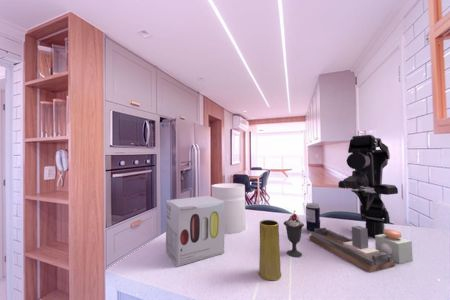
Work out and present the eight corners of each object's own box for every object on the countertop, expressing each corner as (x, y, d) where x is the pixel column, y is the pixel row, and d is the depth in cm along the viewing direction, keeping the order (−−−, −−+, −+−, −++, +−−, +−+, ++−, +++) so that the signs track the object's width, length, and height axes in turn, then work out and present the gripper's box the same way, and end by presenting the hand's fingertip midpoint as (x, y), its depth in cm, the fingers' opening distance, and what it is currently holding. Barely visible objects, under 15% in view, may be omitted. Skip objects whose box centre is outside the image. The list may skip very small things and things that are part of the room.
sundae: (295, 260, 63) (293, 212, 63) (280, 251, 69) (279, 208, 69) (309, 255, 66) (308, 210, 66) (293, 247, 72) (292, 206, 72)
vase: (256, 268, 58) (255, 219, 59) (277, 267, 59) (275, 218, 59) (262, 281, 52) (261, 226, 53) (284, 280, 53) (283, 225, 53)
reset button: (390, 242, 67) (389, 228, 67) (405, 248, 63) (404, 233, 63) (381, 244, 66) (380, 230, 66) (395, 250, 62) (395, 234, 62)
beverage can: (322, 234, 84) (321, 205, 85) (307, 233, 85) (307, 205, 86) (318, 229, 90) (317, 202, 90) (305, 228, 91) (304, 202, 92)
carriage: (355, 246, 68) (354, 223, 68) (379, 257, 60) (378, 230, 61) (343, 248, 67) (342, 224, 67) (366, 260, 59) (365, 232, 59)
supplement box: (177, 268, 59) (177, 207, 60) (165, 251, 70) (165, 199, 71) (226, 253, 68) (225, 200, 69) (208, 240, 79) (208, 194, 80)
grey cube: (388, 250, 68) (387, 233, 69) (412, 260, 62) (411, 241, 62) (374, 253, 67) (374, 235, 67) (398, 264, 60) (397, 243, 60)
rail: (329, 236, 82) (329, 226, 82) (394, 266, 59) (393, 252, 59) (309, 239, 79) (309, 229, 79) (369, 272, 56) (368, 257, 56)
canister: (251, 225, 96) (250, 184, 97) (235, 236, 83) (234, 188, 84) (223, 220, 105) (223, 182, 106) (204, 229, 91) (204, 186, 92)
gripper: (327, 167, 81) (328, 206, 80) (374, 170, 63) (377, 219, 63) (347, 167, 85) (349, 203, 84) (397, 168, 67) (400, 215, 66)
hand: (365, 209), depth 74 cm, fingers closed
